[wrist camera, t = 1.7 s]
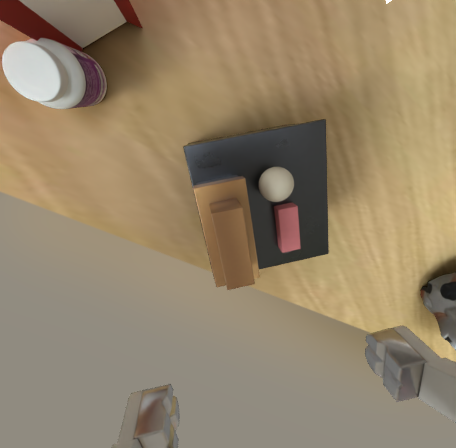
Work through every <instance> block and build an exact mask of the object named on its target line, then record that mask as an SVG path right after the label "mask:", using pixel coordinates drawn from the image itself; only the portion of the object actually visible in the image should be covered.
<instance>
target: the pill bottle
mask: <svg viewBox="0 0 456 448" xmlns="http://www.w3.org/2000/svg"><path fill="white" fill-rule="evenodd" d="M2 66H3V70H4V73H5V76H6V78H7V80H8V81H9V83H10V84H11V85H12V86H13V88H14V89H15V90H16V91H17V92H19V93H20V94H21V95H23V96H24V97H26V98H28V99H30V100H33V101H38V102H39V103H41V104H43V105H45V106H47V107H50V108H55V109H69V108H77V107H86V106H93V105H96V104H98V103H99V102H100V101H102V99H103V98H104V96H105V94H106V90H107V82H106V77H105V74H104V72H103V70H102V68H101V67H100V65H99V64H98V63H97V62H96V61H95V60H94V59H93V58H92V57H90V56H89V55H87V54H85V53H83V52H81V51H79V50H76V49H74V48H71V47H69V46H66V45H64V44H61V43H59V42H56V41H54V40H51V39H47V38H40V39H39V40H38V41H36V40H34V39H33V38H31V39H28V40H26V41H19V42H14V43H12V44H10V45H9V46H8V47H7V48H6V49H5V51H4V53H3V57H2Z"/></svg>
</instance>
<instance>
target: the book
mask: <svg viewBox="0 0 456 448" xmlns="http://www.w3.org/2000/svg"><path fill="white" fill-rule="evenodd" d="M0 20H1V21H3V22H5V23H7V24H8V25H10V26H12V27H14V28H15V29H17V30H19V31H21V32H22V33H24V34H26V35H27V36H29V37H31V38H33V39H34V40H36V41H38V40H39V39H40V38H47V39H51V40H54V41H56V42H59V43H61V44H64V45H66V46H69V47H71V48H74V49H76V50H79V51H81V52H82V50H83V48H84V47H86V46H87V45H89V44H91V43H92V42H94V41H96V40H97V39H99V38H100V37H102V36H104V35H105V34H107V33H109V32H110V31H112V30H114V29H115V28H117V27H119V26H120V25H122V24H124V23H125V22H129V23H131V24H134V25H136V26H138V27H140V28H142V26H141V24H140V22H139V20H138V18H137V16H136V14H135V12H134V10H133V8H132V6H131V4H130V2H129V0H0Z"/></svg>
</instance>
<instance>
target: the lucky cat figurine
mask: <svg viewBox="0 0 456 448" xmlns="http://www.w3.org/2000/svg"><path fill="white" fill-rule="evenodd" d="M421 297H422V299H423V303H424V305H425V306H426V308H427V309H428V310H429V311H430V312H431V313H432V314H434V315H435V317H436V319H437V321H438V325H439V328H440V332H441V336H442V337H443V338H444V339H445V340H447V341H448V342H449V343H450V344H451V346H452V347H453V348H454V349H455V350H456V272H454V273H451V274H445V275H442V276H440V277H437V278H435V279H433V280H431V281H429V282H428V287H424V286H423V287H422V289H421Z"/></svg>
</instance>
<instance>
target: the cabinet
mask: <svg viewBox="0 0 456 448" xmlns="http://www.w3.org/2000/svg"><path fill="white" fill-rule="evenodd" d="M183 148H184V152H185V157H186V161H187V165H188V169H189V174H190V178H191V182H192V186H193V191H194V186H195V185H196V183H198V182H203V181H208V180H213V179H218V178H223V177H228V176H233V175H238V176H243V177H244V178H245V180H246V186H247V193H248V200H249V207H250V213H251V220H252V227H253V234H254V240H255V247H256V254H257V260H258V267H259V269H263V268H267V267H272V266H276V265H280V264H285V263H289V262H294V261H298V260H303V259H307V258H312V257H316V256H320V255H325V254H328V204H327V156H326V120H325V119H323V120H317V121H312V122H306V123H301V124H288V125H282V126H276V127H271V128H266V129H261V130H256V131H250V132H245V133H240V134H235V135H229V136H224V137H219V138H214V139H209V140H203V141H198V142H193V143H189V144H188V145H187V146H184V147H183ZM272 167H282V168H285V169H286V170H288V171H289V172H290V173H291V175H292V177H293V180H294V188H293V191H292V193H291V194H290V196H289V197H288V198H286V199H285V200H283V201H279V202H272V201H269V200H267V199H265V198H264V197H263V196H262V194H261V193H260V190H259V179H260V177H261V175H262V174H263V173H264V172H265V171H266V170H267V169H269V168H272ZM194 195H195V194H194ZM195 199H196V198H195ZM291 202H293V203H294V204H295V205H297V206H298V219H299V233H300V248H301V249H297V250H293V251H288V252H284V253H282V251H281V250H280V249H279V247H278V240H277V231H276V222H275V212H274V206H277V205H282V204H287V203H291ZM196 203H197V202H196ZM197 208H198V206H197ZM198 212H199V211H198ZM199 216H200V215H199ZM200 221H201V219H200ZM201 225H202V223H201ZM202 229H203V228H202ZM203 233H204V232H203ZM204 238H205V236H204ZM205 242H206V241H205ZM206 246H207V245H206ZM207 250H208V249H207ZM208 255H209V253H208ZM209 259H210V258H209ZM210 263H211V262H210ZM211 268H212V266H211ZM212 272H213V271H212ZM213 276H214V275H213Z"/></svg>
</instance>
